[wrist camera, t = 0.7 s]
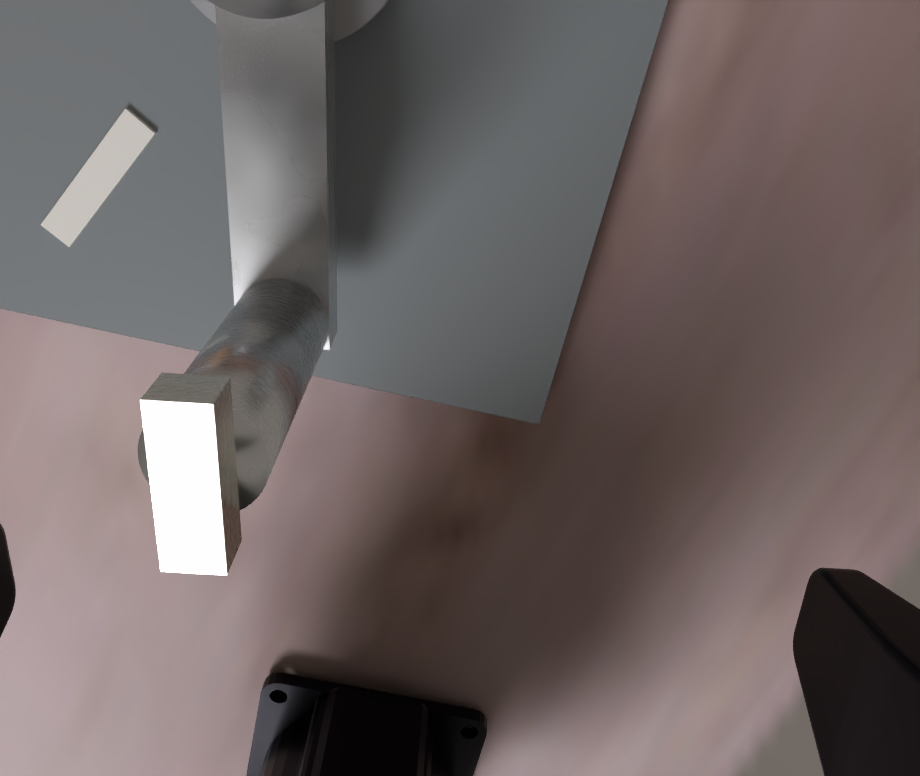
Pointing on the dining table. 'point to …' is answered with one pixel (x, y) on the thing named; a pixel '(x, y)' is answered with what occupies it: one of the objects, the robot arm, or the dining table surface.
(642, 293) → the dining table surface
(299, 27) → the crank
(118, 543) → the dining table surface
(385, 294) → the crank bed
